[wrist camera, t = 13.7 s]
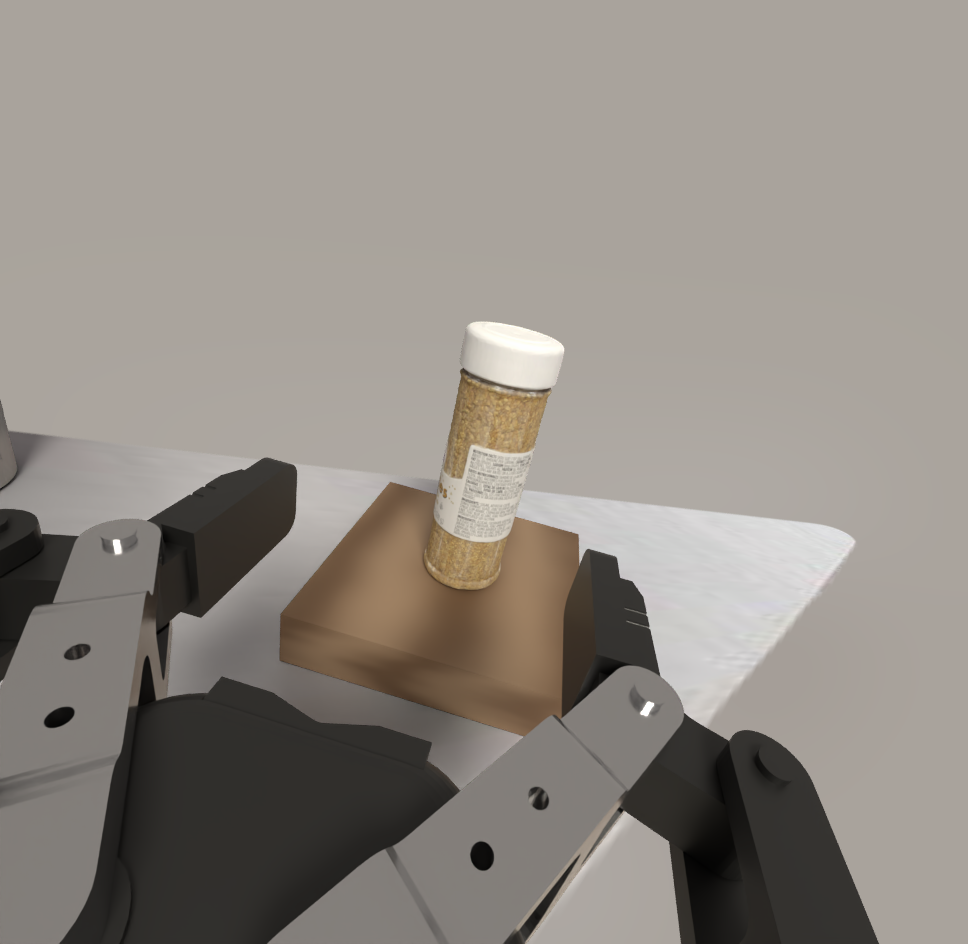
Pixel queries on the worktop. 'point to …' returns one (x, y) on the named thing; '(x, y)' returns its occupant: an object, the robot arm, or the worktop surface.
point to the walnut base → (438, 618)
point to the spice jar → (489, 449)
